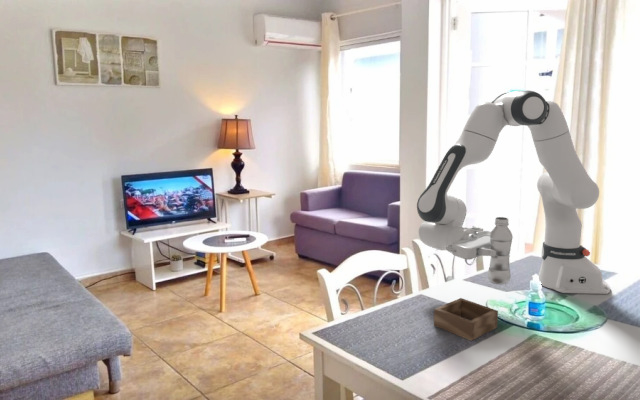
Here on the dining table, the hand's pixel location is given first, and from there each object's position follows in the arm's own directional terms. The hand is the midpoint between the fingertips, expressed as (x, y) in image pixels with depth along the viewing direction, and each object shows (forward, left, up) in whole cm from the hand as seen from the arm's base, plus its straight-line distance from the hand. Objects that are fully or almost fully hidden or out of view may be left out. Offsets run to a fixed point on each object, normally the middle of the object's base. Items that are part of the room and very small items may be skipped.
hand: (503, 251), depth 147 cm
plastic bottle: (+1, -1, -10) cm, 10 cm away
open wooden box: (+10, +13, -19) cm, 25 cm away
